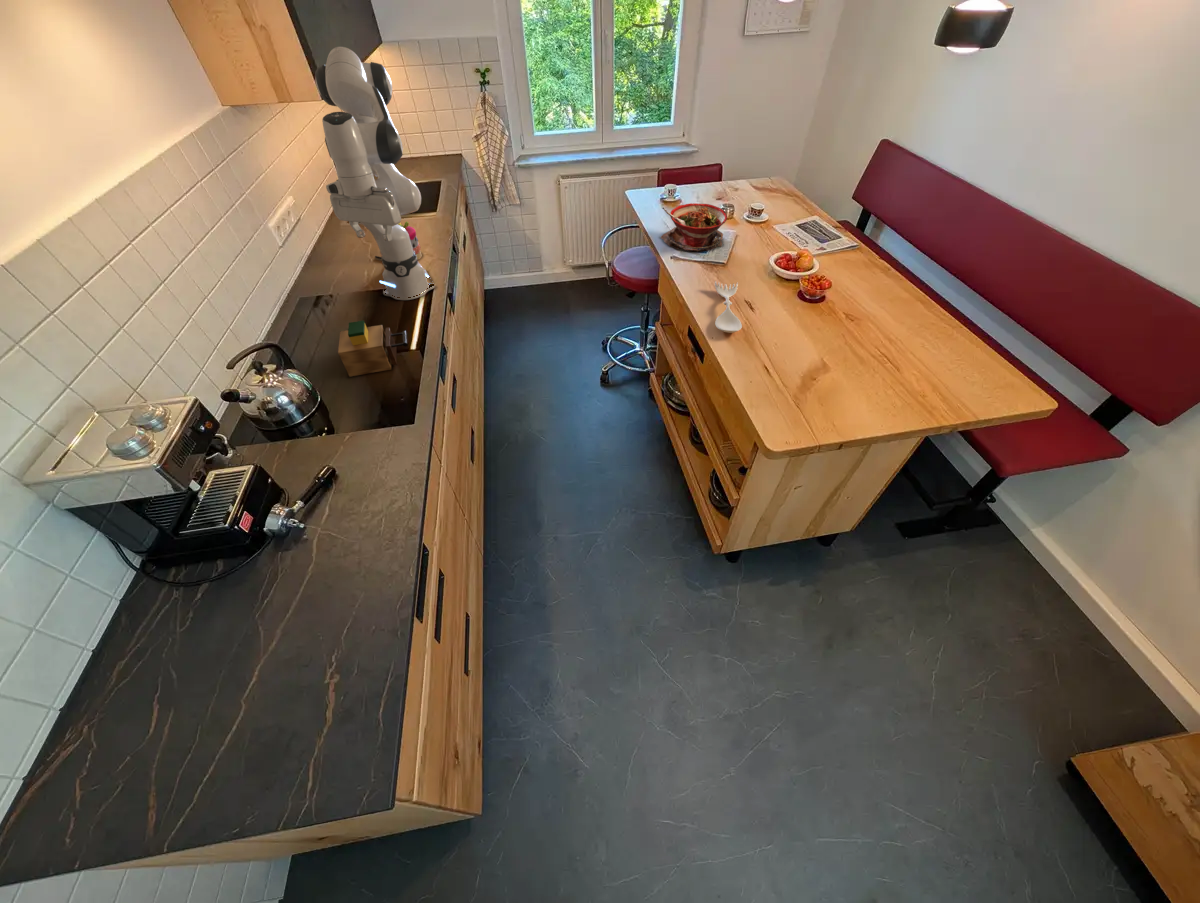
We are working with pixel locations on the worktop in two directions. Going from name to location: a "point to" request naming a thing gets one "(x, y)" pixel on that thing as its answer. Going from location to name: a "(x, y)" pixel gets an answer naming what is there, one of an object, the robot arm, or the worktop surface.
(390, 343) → the drawer
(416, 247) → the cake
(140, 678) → the worktop surface
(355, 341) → the sponge
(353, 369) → the cabinet
